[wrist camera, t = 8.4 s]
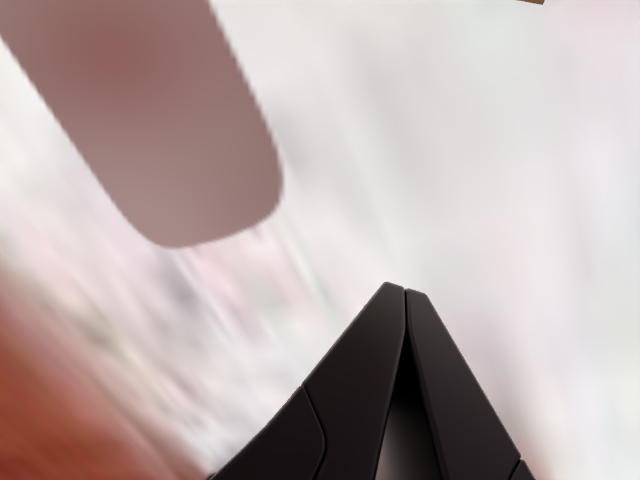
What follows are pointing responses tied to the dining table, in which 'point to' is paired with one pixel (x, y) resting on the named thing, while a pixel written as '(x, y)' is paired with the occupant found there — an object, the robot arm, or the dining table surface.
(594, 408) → the dining table surface
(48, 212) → the dining table surface
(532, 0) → the chute
